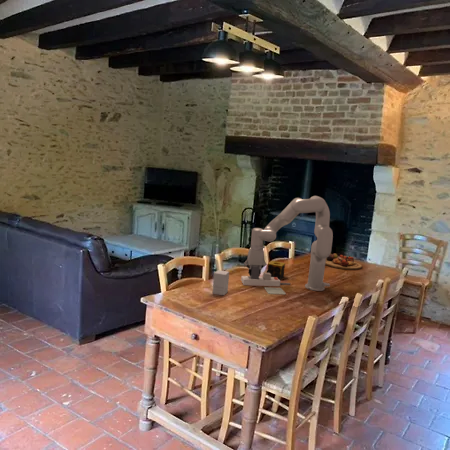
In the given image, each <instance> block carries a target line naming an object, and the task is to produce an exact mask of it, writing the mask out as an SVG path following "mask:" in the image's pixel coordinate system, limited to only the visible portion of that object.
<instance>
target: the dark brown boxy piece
mask: <svg viewBox="0 0 450 450" xmlns="http://www.w3.org/2000/svg"><path fill="white" fill-rule="evenodd" d="M285 267H286V262H281V261H275V260H270V261H269V262H268V263H267V270H266V273H270V274H271V277H277V278H278V279H279V280H280V281H281V280H282V279H283V278H284V277H285V276H284V275H285Z"/></svg>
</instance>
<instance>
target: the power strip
mask: <svg viewBox="0 0 450 450" xmlns="http://www.w3.org/2000/svg"><path fill="white" fill-rule="evenodd" d="M240 281H242V282H241V283H243V284H242V285H243V286H257V287H258V286H259V287H260V286H261V287H262V286H263V287H281V286H282V285H283V286H291V283H290V282H281V279H280V280H279V279H278V278H277V277H271V280H264V279H263V276H259V279H251V278H250V275H249V276H248V275H241V278H240Z"/></svg>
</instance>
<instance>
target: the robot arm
mask: <svg viewBox="0 0 450 450" xmlns="http://www.w3.org/2000/svg"><path fill="white" fill-rule="evenodd" d="M309 213H315V223H314V224H315V225H314V231H313V232H314V235H315V237H316V240H314V241H313V242H312V244H311V246H310V260H309V261H310V263H309V268H308V269H309V270H308V276H307V278H308V279H307V283H305V285H304V287H305V288H306V289H307V290H309V291H315V292H322V291H325V287H331V284H330V283H327V282H324V279H325V278H324V276H325V268H326V265H325V262H326V258H327V257H328V256H329V255H330V254H332V247H333V238H334V236H333V235H334V233H333V229H332V228H331V227H330V217H331V212H330V208H329V206H328V203H327V202H326V200H325V199H324V198H323V197H321V196H318V195H313V196H311V197H310V198H303V199H302V198H301V197H295V198H293V199H292V200H291V201H290V203H289V204H288V205H287V206H286V207H285V208H284V209H283V210H282V211H281V212H280V213H279V214H278V215H277V216H275V218H273V219H272V220H271V221H270V222H269V223H268V224H267V225H266V226H265V227H264V229H263V228H260V227H254V228H251V241H250V248H249V249H248V253H247V259H246V260H245V262H243V265H244V266H246V267H247V268H248V275H249V276H251V267H252V265H258V266H259V267H260V271H259V277H261V276H260V275H261V273H262V270H263V268H265V267H266V266H268V263H266V261H265V254H264V249H266V246H265V245H264V241H266V242H274V241H275V240H276V238H277V232H278V231H279V230H280V229H281V228H282V227H284V226H287V225H289V224H291V222H293V220H294V219H295V218H296V217H297V216H298V215H299V214H309Z"/></svg>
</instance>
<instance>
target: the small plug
mask: <svg viewBox="0 0 450 450" xmlns="http://www.w3.org/2000/svg"><path fill="white" fill-rule="evenodd" d="M262 277H263V279H264V280H271V274H270V273H267V272H263V275H262Z"/></svg>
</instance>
